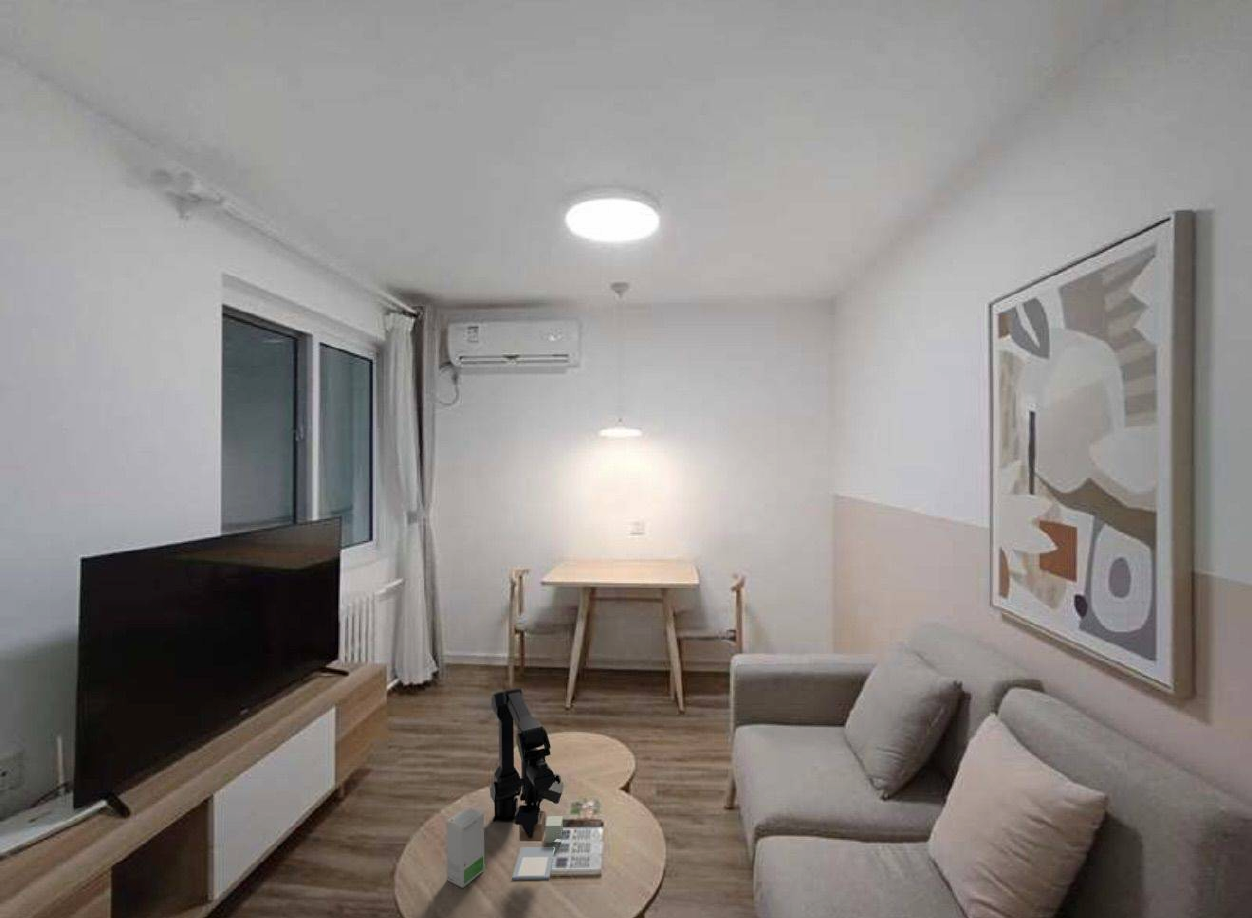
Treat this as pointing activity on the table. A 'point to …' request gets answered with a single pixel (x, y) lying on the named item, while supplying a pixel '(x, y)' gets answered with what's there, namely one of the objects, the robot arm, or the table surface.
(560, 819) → the sage block
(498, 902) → the table surface
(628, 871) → the table surface
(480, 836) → the skincare box
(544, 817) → the walnut block
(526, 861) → the board
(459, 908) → the table surface
